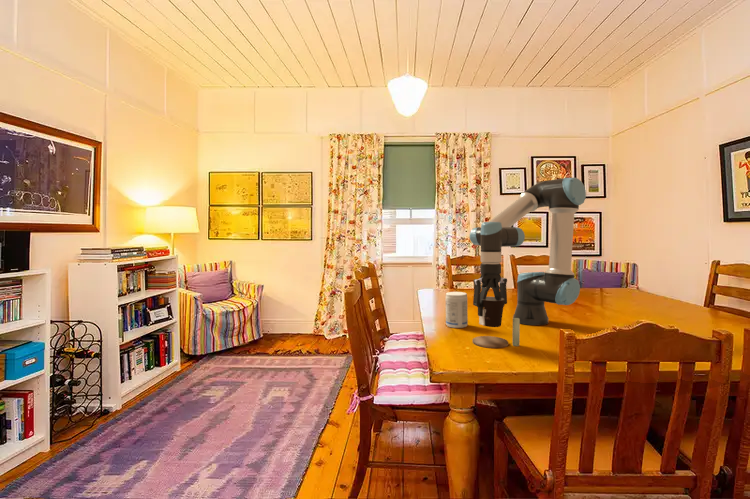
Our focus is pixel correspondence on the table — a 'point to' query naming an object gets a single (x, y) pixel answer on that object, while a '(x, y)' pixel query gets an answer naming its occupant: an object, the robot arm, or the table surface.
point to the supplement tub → (456, 309)
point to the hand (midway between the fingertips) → (490, 323)
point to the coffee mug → (493, 311)
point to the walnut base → (490, 342)
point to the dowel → (516, 331)
